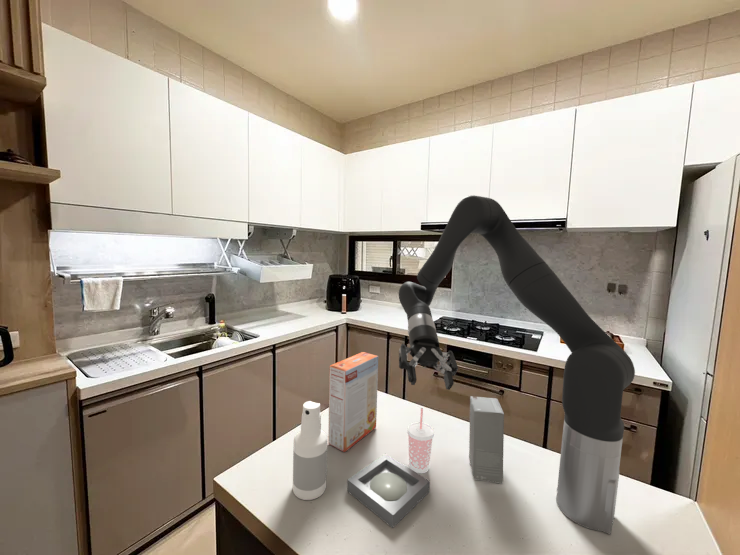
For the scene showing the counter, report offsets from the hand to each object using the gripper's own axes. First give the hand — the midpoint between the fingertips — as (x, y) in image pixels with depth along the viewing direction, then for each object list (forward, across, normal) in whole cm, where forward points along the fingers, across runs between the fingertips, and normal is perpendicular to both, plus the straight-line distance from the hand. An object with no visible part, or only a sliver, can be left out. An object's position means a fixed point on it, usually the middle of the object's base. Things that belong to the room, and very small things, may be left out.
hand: (431, 385), depth 72 cm
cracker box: (+1, -14, +24) cm, 28 cm away
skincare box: (+11, +15, +14) cm, 23 cm away
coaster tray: (+17, -8, +13) cm, 23 cm away
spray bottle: (+17, -24, +16) cm, 34 cm away
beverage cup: (+11, 0, +16) cm, 19 cm away
